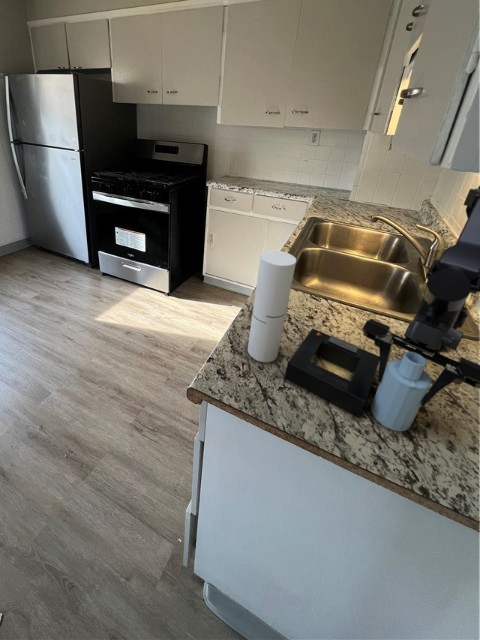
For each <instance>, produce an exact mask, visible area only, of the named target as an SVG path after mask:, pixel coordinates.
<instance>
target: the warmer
mask: <svg viewBox="0 0 480 640" xmlns="http://www.w3.org/2000/svg"><path fill="white" fill-rule="evenodd" d="M318 358H321V359H323V360H325V361H328V362H329V363H332V364H334V365H336V366H338V367H340V368H343V369H345V370H347V371H349V372H351V373H352V377H351V379H350V380H349V379H347V378H345V377H343V376H341V375H339V374H337V373H334V372H332V371H330V370H328V369H326V368H324V367H322V366H320V365H318V364H316V363H315V362H316V361H317V359H318ZM379 362H380V355H377V354H375V353H373V352H370V351H368V350H365V349H363V348H361V347H359V345H356V344H353V343H351V342H348V341H346V340H345V339H341V338H340V337H336V336H335V335H331V334H330V335H329V334H327V333H325V332H322V331H320V330H317V329H316V328H313V327H312V328H311V330H310V331H309V333H308V334H307V336H306V337H305V338H304V339H303V341H302V342H301V344H300V345H299V347H298V348H297V349H296V351H295V352H294V353H293V355H292V356H291V358H290V359H289V361H288V362H287V365H286V370H285V374H284V379H285V380H287V381H289V382H291V384H294V385H296V386H298V387H300V388H301V389H304V390H305V391H307V392H309V393H311V394H313V395H315V396H317V397H318V398H321V399H322V400H324V401H326V402H328V403H329V404H332V405H333V406H335V407H337V408H339V409H341V410H342V411H344V412H346V413H349V414H350V415H352V416H354V417H357V418H358V419H359V418H360V417H361V415H362V411H363V409H364V406H365V404H366V402H367V399H368V395H369V394H370V393H369V392H370V390H371V386H372V383H373V381H374V378H375V375H376V373H377V369H378V368H379Z"/></svg>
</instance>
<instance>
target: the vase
mask: <svg viewBox="0 0 480 640" xmlns="http://www.w3.org/2000/svg"><path fill="white" fill-rule="evenodd" d="M427 363H428V362H427V359H425V358H424V357H422V356H421V355H419V354H417V353H415V352H409V351H405V353H404V354H403V356H402V358H401V359H392V360H390V361H388V363H387V366H386V370H385V372H384V375H383V377H382V380H381V382H380V383H379V385H378V387H377V390H376V393H375V395H374V397H373V400H372V403H371V405H370V411H371V414H372V416H373V417H374V418H375V420H376V421H377V422H378V423H380V424H381V426H384V427H385V428H387V429H389V430H392V431H395V432H405V431H407V430H409V428H410V427H411V426H412V424H413V422H414V420H415V418H416V417H417V414H418V412H419V409H420V408H421V406H422V405H421V403H422V401H423V399H424V397H425V396H426V394H427V392H428V391H429V390H430V388H431V387H432V385H431V384H432V378H431V377H430V375H429V373H427V372H426V371H425V368H426V365H427Z"/></svg>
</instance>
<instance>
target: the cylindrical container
mask: <svg viewBox="0 0 480 640" xmlns="http://www.w3.org/2000/svg"><path fill="white" fill-rule="evenodd" d="M296 264H297V258H296V257H295V256H294V255H293V254H291V253H288V252H285V251H281V250H265V251H263V252H262V253H260V259H259V264H258V265H259V267H258V273H257V279H256V287H255V294H254V299H253V300H254V301H253V307H252V315H251V322H250V329H249V336H248V344H247V352H248V353H247V354H248V355H249V356H250V357H251V358H252V359H254V360H255V361H258V362H260V363H272V362H274V361H276V360H277V359H278V356H279V352H280V348H281V347H280V346H281V341H282V336H283V331H284V325H285V322H286V317H287V310H288V305H289V301H290V296H291V295H290V294H291V290H292V285H293V280H294V276H295V275H294V274H295V270H296Z"/></svg>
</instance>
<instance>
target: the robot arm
mask: <svg viewBox="0 0 480 640" xmlns="http://www.w3.org/2000/svg"><path fill="white" fill-rule="evenodd" d="M463 206H465V207H466V208H465V214H466V218H467V220H466V221H465V223H464V225H463V228H462V230H461V232H460V234H459V236H458V238H457V240H456V242H455V244H453V245H451V246H450V247H448V248H445V249H444V250H443V252H442V254H441V256H440V258H439V259H437V258H435V259H434V261H433V262H432V264H431V266H430V267H429V269H428V270H427V272H426V274H425V278H424V279H425V280H427V281H426V285H425V290H424V294H423V297H422V298H421V301H420V303H419V306H418V309H417V310H416V313H415V315H414V317H413V319H412V321H411V322H409V324H408V326H407V328H406V330H405V332H404V334H403V336H400V335H397V334H395V333H393V332H391V326H389V325H387V324H386V323H385V324H384V323H382V322H380V321H378V320H375V319H374V318H373V319H372V318H371V319H367V320H366V321H365V323H364V325H363V327H362V328H361V329H362V333H363V336H364V337H366V338H367V339H369V340H371V341H373V343H374V346H375V347H377V348H378V349H379V356H380V361H379V364H378V373H377V382H378V383H379V384H380V382H381V380H382V377H383V375H384V372H385V370H386V367H387V365H388V362H389V360H390V356H391V353H392V346H393V345H394V346H396V347H397V348H401V349H403V350H405V351H406V352H415V353H417V354H419V355H421V356H422V357H424V358H425V360H426V361H429V362H431V363H434V364H436V365H438V366H440V367H442V368H443V369H442V370H441V372H440V373H439V375H438V376H437V378H436V379H435V381H434V382H433V384H432V385H431V386H430V388H429V390H428V392H427V394H426V396H425V397H424V399H423V401H422V403H421V406H422V407H424V406H425V405H426V404H428V403H429V401H430V400H432V399H433V398H434V397H435V396H436V395H437V394H438V393H439V392H440V391H442V390H443V389H445V388H446V387H447V386H449V385H451V384H452V383H453V384H455V385H457V386H460V385H462V384H463V383H464V384H466V385H469V386H470V387H473V388H474V389H475V388H476V389H480V364H478V363H476V362H474V361H472V360H469V359H467V358H465V357H463V356H461V357H460V358H459V359H458V360H455V359H452V358H450V357H448V356H446V355H444V354H442V353H443V351H444V349H445V348H448V349H450V350H453V351H456V350H457V349H458V347H459V344H460V342H461V340H462V339H463V336H464V333H465V332H464V331H461V330H458V329H461V328H462V327H463V326H464V323H465V321H466V320H467V318H468V316H469V314H468V312H467V309H468V307H466V306H465V305H466V301H467V299H468V298H469V295H470V294H473V295H476V294H477V293H478V292H479V293H480V185H478V187H477V188H470V189H469V190H468V193H467V195H466V197H465V199H464V202H463Z"/></svg>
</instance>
